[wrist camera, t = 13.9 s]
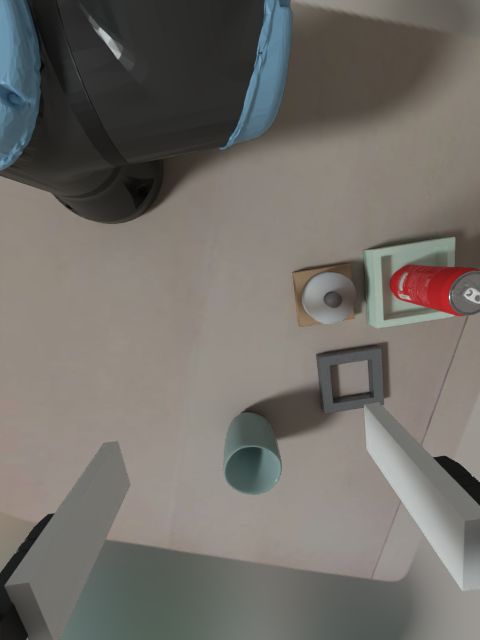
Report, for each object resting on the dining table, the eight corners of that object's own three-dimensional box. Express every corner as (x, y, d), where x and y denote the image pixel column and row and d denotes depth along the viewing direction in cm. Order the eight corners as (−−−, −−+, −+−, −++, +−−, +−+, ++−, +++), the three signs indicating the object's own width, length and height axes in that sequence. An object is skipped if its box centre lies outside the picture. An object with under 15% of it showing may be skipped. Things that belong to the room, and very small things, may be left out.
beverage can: (400, 257, 40) (468, 259, 29) (429, 275, 41) (507, 283, 29) (379, 289, 41) (436, 303, 30) (408, 306, 42) (475, 326, 30)
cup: (279, 414, 47) (291, 456, 37) (261, 452, 48) (268, 502, 38) (235, 398, 46) (236, 437, 36) (218, 437, 47) (214, 485, 38)
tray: (363, 250, 41) (373, 250, 38) (439, 238, 41) (455, 236, 38) (367, 323, 43) (376, 328, 40) (439, 312, 43) (454, 316, 40)
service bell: (292, 272, 41) (301, 274, 36) (346, 263, 41) (363, 264, 36) (298, 324, 43) (307, 334, 38) (350, 316, 43) (366, 325, 38)
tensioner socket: (316, 354, 44) (318, 357, 43) (376, 345, 44) (381, 348, 43) (321, 408, 46) (324, 413, 45) (379, 399, 46) (383, 404, 45)
